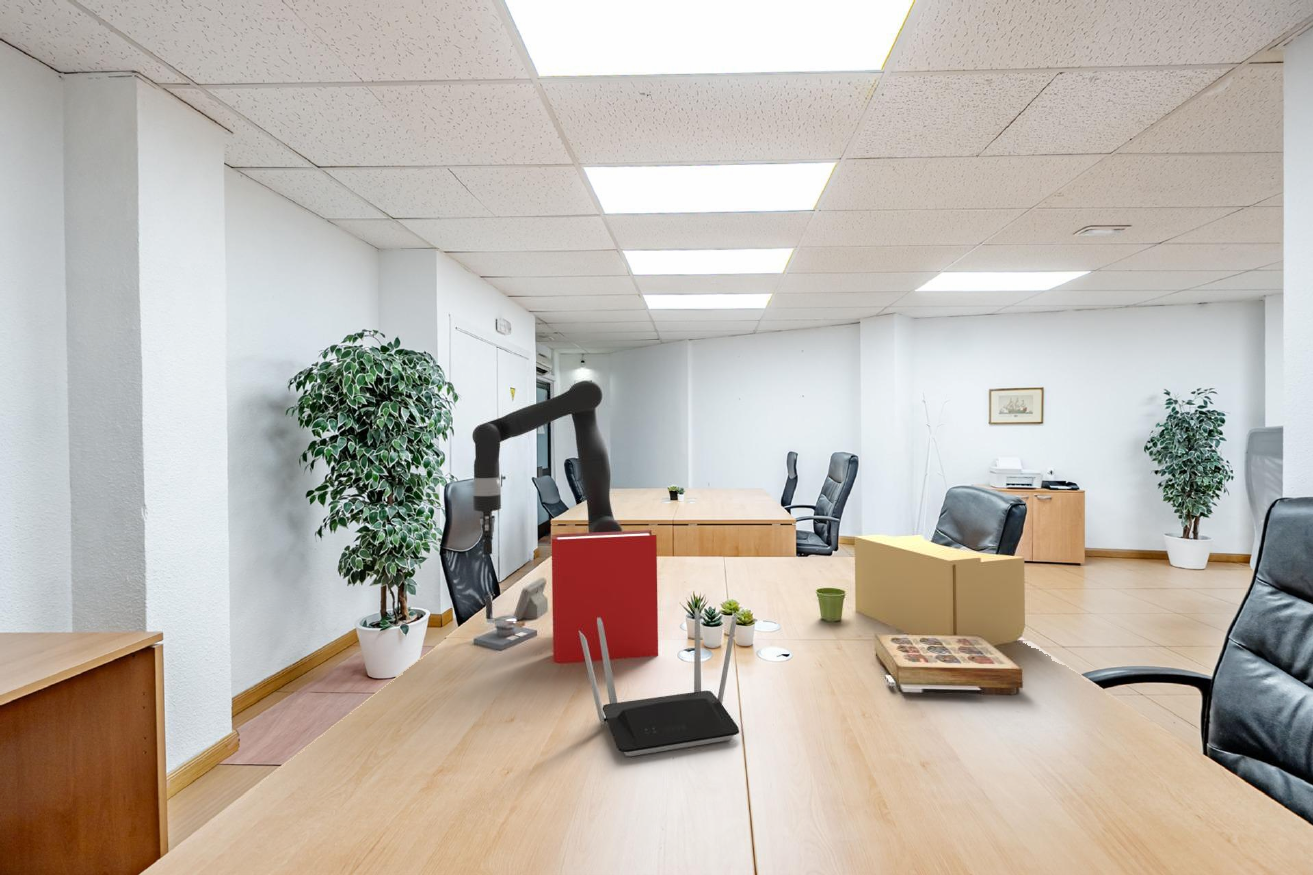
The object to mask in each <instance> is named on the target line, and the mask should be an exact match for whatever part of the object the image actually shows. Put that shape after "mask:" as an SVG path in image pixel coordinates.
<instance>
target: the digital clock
mask: <svg viewBox="0 0 1313 875" xmlns="http://www.w3.org/2000/svg"><path fill="white" fill-rule="evenodd" d="M546 585H547V578H545V577H539V578H538V579H536V580H534V581H532V582H531V583H529V584H528V585H525V586H524V587H523V588H522V590H521V591H520V595H519V599H518V601H517V604H516V608H515V610H514V614H513V616H515V617H516V621H521V620H522V619H527V620H528V619H529V620H530V619H531V620H538V619H539V618H541V617H542V616H543V615H544V614H545V613H546V612H548V607H549V606H548V597H547V596H545V594H544V590H545V588H546Z"/></svg>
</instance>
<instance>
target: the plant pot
mask: <svg viewBox="0 0 1313 875" xmlns="http://www.w3.org/2000/svg"><path fill="white" fill-rule="evenodd" d="M815 594H816V596H817V600H818V605H819V613H820V617H821V620H824V621H826V622H837V621H838V622H839V621H841V620H842V618H843V609H844V601H845V596H846V594H847V591H846V590H844V589H842V588H836V587H819V588H816V589H815Z"/></svg>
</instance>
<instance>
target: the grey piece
mask: <svg viewBox="0 0 1313 875" xmlns="http://www.w3.org/2000/svg"><path fill="white" fill-rule="evenodd" d="M485 619H486V623H491V624H494V628H496V629H497V628H498V629H508V628H513V627H515V626H518V627H525V625H526V623H525V621H518V620H516V617H515V616H514V615H501V616H497V617H493V596H492V594H487V595H485Z"/></svg>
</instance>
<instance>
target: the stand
mask: <svg viewBox="0 0 1313 875" xmlns="http://www.w3.org/2000/svg"><path fill="white" fill-rule="evenodd" d="M536 636H538V630H537V629H533V628H528V627H525V626H523V627H518V626H515V627H513V628H508V629H498V628H496V629H495V630H492V631H490V632H487V633H483V634H482V635H479V636H476V637H474V638H473V644H474V645H479V646H481V647H486V648H490V649H494V650H498V651H504V650H507V649H509V648H511V647H514V646H516V645H519V644H520V643H523V642H524V641H528V640H529V639H532V638H534V637H536Z"/></svg>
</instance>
